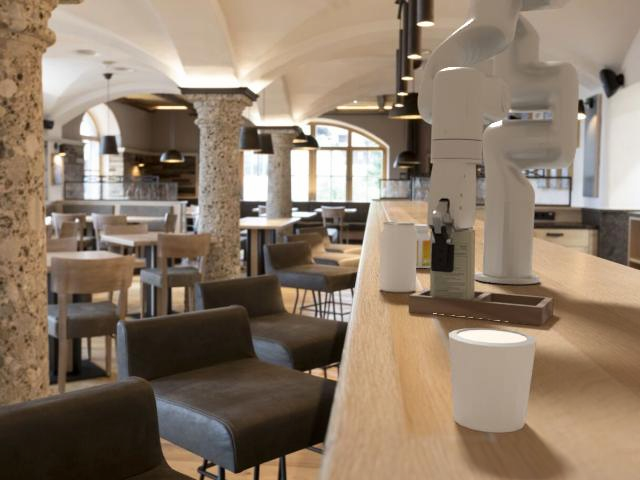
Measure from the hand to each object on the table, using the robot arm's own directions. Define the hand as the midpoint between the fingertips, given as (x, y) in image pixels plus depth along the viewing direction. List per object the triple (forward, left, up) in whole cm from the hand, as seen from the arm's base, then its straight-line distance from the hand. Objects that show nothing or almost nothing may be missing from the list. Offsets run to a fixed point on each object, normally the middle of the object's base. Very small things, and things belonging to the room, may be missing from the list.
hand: (451, 268), depth 106 cm
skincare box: (0, 0, -7) cm, 7 cm away
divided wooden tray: (0, +5, -6) cm, 8 cm away
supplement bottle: (-49, -22, -7) cm, 54 cm away
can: (-14, -14, -7) cm, 21 cm away
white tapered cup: (+47, +17, -7) cm, 50 cm away
